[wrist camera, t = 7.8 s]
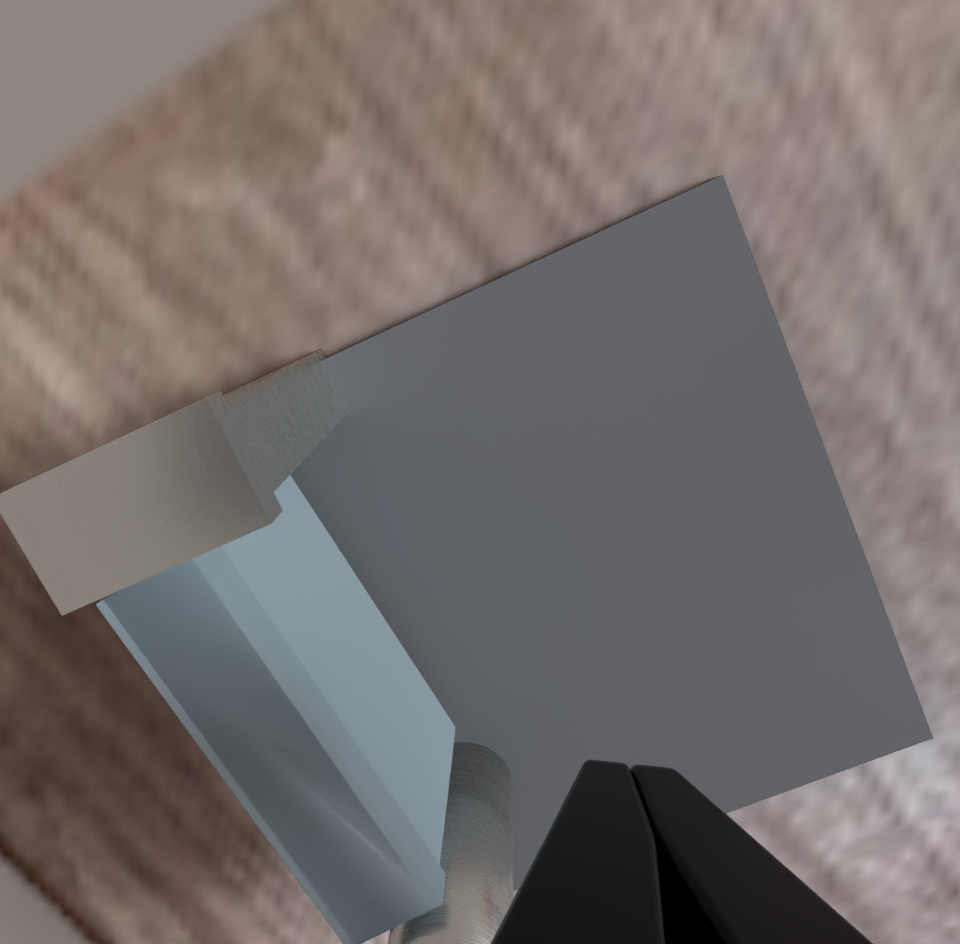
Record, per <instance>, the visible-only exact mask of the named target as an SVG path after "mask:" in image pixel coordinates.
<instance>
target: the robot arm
mask: <svg viewBox="0 0 960 944" xmlns="http://www.w3.org/2000/svg"><path fill="white" fill-rule="evenodd" d="M490 944H873V943H872V942H870V941H869V940H868V939H867V938H866V937H865V936H864V935H863V934H861V933H860V932H859V931H858V930H857V929H856V928H855V927H853V926H852V925H851V924H850V923H849V922H848V921H847V920H846V919H844V918H843V917H842V916H841V915H840V914H839V913H838V912H836V911H835V910H834V909H833V908H832V907H831V906H830V905H829V904H827V903H826V902H825V901H824V900H823V899H822V898H821V897H819V896H818V895H817V894H816V893H815V892H814V891H813V890H811V889H810V888H809V887H808V886H807V885H806V884H805V883H804V882H802V881H801V880H800V879H799V878H798V877H797V876H796V875H794V874H793V873H792V872H791V871H790V870H789V869H788V868H787V867H785V866H784V865H783V864H782V863H781V862H780V861H779V860H777V859H776V858H775V857H774V856H773V855H772V854H771V853H770V852H768V851H767V850H766V849H765V848H764V847H763V846H762V845H760V844H759V843H758V842H757V841H756V840H755V839H754V838H753V837H751V836H750V835H749V834H748V833H747V832H746V831H745V830H743V829H742V828H741V827H740V826H739V825H738V824H737V823H735V822H734V821H733V820H732V819H731V818H730V817H729V816H728V815H726V814H725V813H724V812H723V811H722V810H721V809H720V808H718V807H717V806H716V805H715V804H714V803H713V802H712V801H711V800H709V799H708V798H707V797H706V796H705V795H704V794H703V793H701V792H700V791H699V790H698V789H697V788H696V787H695V786H694V785H692V784H691V783H690V782H689V781H688V780H687V779H686V778H684V777H683V776H682V775H681V774H680V773H679V772H677V771H676V770H675V769H672V768H669V767H659V766H649V765H634V766H632V767H631V769H630V768H629V767H628V766H627V765H626V764H624V763H620V762H611V761H601V760H587V761H585V762H584V764H583V765H582V767H581V769H580V771H579V773H578V775H577V777H576V779H575V781H574V782H573V784H572V786H571V788H570V790H569V792H568V794H567V796H566V798H565V800H564V802H563V804H562V806H561V808H560V810H559V812H558V814H557V815H556V817H555V819H554V821H553V823H552V825H551V827H550V829H549V831H548V833H547V835H546V837H545V839H544V841H543V843H542V845H541V846H540V848H539V850H538V852H537V854H536V856H535V858H534V860H533V862H532V864H531V866H530V868H529V870H528V872H527V874H526V876H525V878H524V879H523V881H522V883H521V885H520V887H519V889H518V891H517V893H516V895H515V897H514V899H513V901H512V903H511V905H510V907H509V909H508V910H507V912H506V914H505V916H504V918H503V920H502V922H501V924H500V926H499V928H498V930H497V932H496V934H495V936H494V938H493V940H492V942H491V943H490Z"/></svg>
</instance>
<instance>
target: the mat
mask: <svg viewBox="0 0 960 944" xmlns="http://www.w3.org/2000/svg"><path fill="white" fill-rule="evenodd" d="M322 363H323V365H324V367H325V369H326V371H327V373H328V375H329V377H330V379H331V381H332V383H333V385H334V387H335V389H336V391H337V393H338V395H339V397H340V399H341V401H342V403H343V406H344V408H345V410H346V412H347V415H346V416H345V417H344V418H343V419H342V420H341V422H340V423H339V424H338V425H337V426H336V427H335V428H334V429H333V430H332V431H331V432H330V433H329V434H328V435H327V436H326V437H325V438H324V439H323V441H322V442H321V443H320V444H319V445H318V446H317V447H316V448H315V449H314V450H313V451H312V452H311V453H310V454H309V455H308V456H307V457H306V459H305V460H304V461H303V462H302V463H301V464H300V465H299V466H298V467H297V468H296V469H295V470H294V471H293V472H292V473H291V474H290V475H291V477H292V478H293V480H294V481H295V483H296V484H297V486H298V487H299V489H300V491H301V492H302V494H303V495H304V497H305V498H306V500H307V501H308V503H309V504H310V506H311V507H312V509H313V510H314V512H315V513H316V515H317V516H318V518H319V520H320V521H321V523H322V524H323V526H324V527H325V529H326V530H327V532H328V533H329V535H330V536H331V538H332V539H333V541H334V542H335V544H336V545H337V547H338V549H339V550H340V552H341V553H342V555H343V556H344V558H345V559H346V561H347V562H348V564H349V565H350V567H351V568H352V570H353V571H354V573H355V574H356V576H357V578H358V579H359V581H360V582H361V584H362V585H363V587H364V588H365V590H366V591H367V593H368V594H369V596H370V597H371V599H372V600H373V602H374V603H375V605H376V607H377V608H378V610H379V611H380V613H381V614H382V616H383V617H384V619H385V620H386V622H387V623H388V625H389V626H390V628H391V629H392V631H393V632H394V634H395V636H396V637H397V639H398V640H399V642H400V643H401V645H402V646H403V648H404V649H405V651H406V652H407V654H408V655H409V657H410V658H411V660H412V662H413V663H414V665H415V666H416V668H417V669H418V671H419V672H420V674H421V675H422V677H423V678H424V680H425V681H426V683H427V684H428V686H429V687H430V689H431V691H432V692H433V694H434V695H435V697H436V698H437V700H438V701H439V703H440V704H441V706H442V707H443V709H444V710H445V712H446V713H447V715H448V716H449V718H450V720H451V721H452V723H453V724H454V726H455V727H456V728H455V737H454V743H458V742H470V743H476V744H479V745H482V746H485V747H487V748H489V749H491V750H492V751H494V752H495V753H496V754H498V755H499V756H500V757H501V758H502V759H503V760H504V762H505V763H506V765H507V766H508V768H509V770H510V773H511V776H512V780H513V890H516V889H519V887H520V885H521V883H522V881H523V879H524V878H525V876H526V874H527V872H528V870H529V868H530V866H531V864H532V862H533V860H534V858H535V856H536V854H537V852H538V850H539V848H540V846H541V845H542V843H543V841H544V839H545V837H546V835H547V833H548V831H549V829H550V827H551V825H552V823H553V821H554V819H555V817H556V815H557V814H558V812H559V810H560V808H561V806H562V804H563V802H564V800H565V798H566V796H567V794H568V792H569V790H570V788H571V786H572V784H573V782H574V781H575V779H576V777H577V775H578V773H579V771H580V769H581V767H582V765H583V764H584V762H585V761H587V760H601V761H611V762H620V763H624V764H626V765H627V766H628V767H629V768H630V769H631V767H632V766H634V765H649V766H659V767H669V768H672V769H675V770H676V771H677V772H679V773H680V774H681V775H682V776H683V777H684V778H686V779H687V780H688V781H689V782H690V783H691V784H692V785H694V786H695V787H696V788H697V789H698V790H699V791H700V792H701V793H703V794H704V795H705V796H706V797H707V798H708V799H709V800H711V801H712V802H713V803H714V804H715V805H716V806H717V807H718V808H720V809H721V810H722V811H723V812H724V813H728V812H731V811H734V810H736V809H739V808H742V807H745V806H747V805H750V804H753V803H756V802H758V801H761V800H764V799H767V798H769V797H772V796H775V795H778V794H780V793H783V792H786V791H789V790H791V789H794V788H797V787H800V786H802V785H805V784H808V783H811V782H813V781H816V780H819V779H822V778H824V777H827V776H830V775H833V774H836V773H838V772H841V771H844V770H847V769H849V768H852V767H855V766H858V765H860V764H863V763H866V762H869V761H871V760H874V759H877V758H880V757H882V756H885V755H888V754H891V753H893V752H896V751H899V750H902V749H904V748H907V747H910V746H913V745H915V744H918V743H921V742H924V741H926V740H929V739H932V738H933V737H932V734H931V731H930V729H929V726H928V723H927V721H926V718H925V715H924V713H923V710H922V707H921V705H920V702H919V699H918V697H917V694H916V691H915V688H914V686H913V683H912V680H911V678H910V675H909V672H908V670H907V667H906V664H905V662H904V659H903V656H902V654H901V651H900V648H899V646H898V643H897V640H896V638H895V635H894V632H893V630H892V627H891V624H890V622H889V619H888V616H887V614H886V611H885V608H884V605H883V603H882V600H881V597H880V595H879V592H878V589H877V587H876V584H875V581H874V579H873V576H872V573H871V571H870V568H869V565H868V563H867V560H866V557H865V555H864V552H863V549H862V547H861V544H860V541H859V539H858V536H857V533H856V531H855V528H854V525H853V523H852V520H851V517H850V514H849V512H848V509H847V506H846V504H845V501H844V498H843V496H842V493H841V490H840V488H839V485H838V482H837V480H836V477H835V474H834V472H833V469H832V466H831V464H830V461H829V458H828V456H827V453H826V450H825V448H824V445H823V442H822V440H821V437H820V434H819V431H818V429H817V426H816V423H815V421H814V418H813V415H812V413H811V410H810V407H809V405H808V402H807V399H806V397H805V394H804V391H803V389H802V386H801V383H800V381H799V378H798V375H797V373H796V370H795V367H794V365H793V362H792V359H791V357H790V354H789V351H788V348H787V346H786V343H785V340H784V338H783V335H782V332H781V330H780V327H779V324H778V322H777V319H776V316H775V314H774V311H773V308H772V306H771V303H770V300H769V298H768V295H767V292H766V290H765V287H764V284H763V282H762V279H761V276H760V274H759V271H758V268H757V265H756V263H755V260H754V257H753V255H752V252H751V249H750V247H749V244H748V241H747V239H746V236H745V233H744V231H743V228H742V225H741V223H740V220H739V217H738V215H737V212H736V209H735V207H734V204H733V201H732V199H731V196H730V193H729V191H728V188H727V185H726V182H725V180H724V177H723V175H721V176H718V177H715V178H713V179H711V180H709V181H707V182H705V183H703V184H700V185H698V186H696V187H694V188H692V189H690V190H687V191H685V192H683V193H681V194H679V195H677V196H674V197H672V198H670V199H668V200H666V201H664V202H661V203H659V204H657V205H655V206H653V207H651V208H648V209H646V210H644V211H642V212H640V213H638V214H636V215H633V216H631V217H629V218H627V219H625V220H623V221H620V222H618V223H616V224H614V225H612V226H610V227H607V228H605V229H603V230H601V231H599V232H597V233H594V234H592V235H590V236H588V237H586V238H584V239H581V240H579V241H577V242H575V243H573V244H571V245H569V246H566V247H564V248H562V249H560V250H558V251H556V252H553V253H551V254H549V255H547V256H545V257H543V258H540V259H538V260H536V261H534V262H532V263H530V264H527V265H525V266H523V267H521V268H519V269H517V270H514V271H512V272H510V273H508V274H506V275H504V276H502V277H499V278H497V279H495V280H493V281H491V282H489V283H486V284H484V285H482V286H480V287H478V288H476V289H473V290H471V291H469V292H467V293H465V294H463V295H460V296H458V297H456V298H454V299H452V300H450V301H447V302H445V303H443V304H441V305H439V306H437V307H435V308H432V309H430V310H428V311H426V312H424V313H422V314H419V315H417V316H415V317H413V318H411V319H409V320H406V321H404V322H402V323H400V324H398V325H396V326H393V327H391V328H389V329H387V330H385V331H383V332H380V333H378V334H376V335H374V336H372V337H370V338H368V339H365V340H363V341H361V342H359V343H357V344H355V345H352V346H350V347H348V348H346V349H344V350H342V351H339V352H337V353H335V354H333V355H331V356H329V357H326V358H325V359H323V360H322Z"/></svg>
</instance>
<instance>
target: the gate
mask: <svg viewBox="0 0 960 944" xmlns="http://www.w3.org/2000/svg"><path fill="white" fill-rule="evenodd" d="M274 494H275V496H276V498H277V500H278V502H279V503H280V505H281V507H282V509H283V511H282V512H281V513H280V515H279V516H278V517H277V518H276V519H275V520H274V522H273V523H272V524H270V525H268V526H265V527H263V528H261V529H259V530H256V531H254V532H252V533H249V534H247V535H245V536H243V537H240V538H238V539H236V540H233V541H231V542H229V543H227V544H224V545H222V546H220V547H218V548H215V549H213V550H211V551H208V552H206V553H204V554H202V555H199V556H197V557H195V558H192V559H190V560H188V561H186V562H183V563H181V564H179V565H177V566H174V567H172V568H170V569H167V570H165V571H163V572H161V573H158V574H156V575H154V576H151V577H149V578H147V579H145V580H142V581H140V582H138V583H136V584H133V585H131V586H129V587H126V588H124V589H122V590H120V591H117V592H115V593H113V594H110V595H108V596H106V597H104V598H102V599H101V600H100V601H99V602H98V603H97V604H96V606H97V607H98V609H99V610H100V611H101V613H102V614H103V615H104V617H105V618H106V620H107V621H108V622H109V624H110V625H111V626H112V628H113V629H114V631H115V632H116V633H117V635H118V636H119V637H120V639H121V640H122V641H123V643H124V644H125V646H126V647H127V648H128V650H129V651H130V652H131V654H132V655H133V657H134V658H135V659H136V661H137V662H138V663H139V665H140V666H141V667H142V669H143V670H144V672H145V673H146V674H147V676H148V677H149V678H150V680H151V681H152V683H153V684H154V685H155V687H156V688H157V689H158V691H159V692H160V693H161V695H162V696H163V698H164V699H165V700H166V702H167V703H168V704H169V706H170V707H171V709H172V710H173V711H174V713H175V714H176V715H177V717H178V718H179V719H180V721H181V722H182V724H183V725H184V726H185V728H186V729H187V730H188V732H189V733H190V735H191V736H192V737H193V739H194V740H195V741H196V743H197V744H198V745H199V747H200V748H201V750H202V751H203V752H204V754H205V755H206V756H207V758H208V759H209V761H210V762H211V763H212V765H213V766H214V767H215V769H216V770H217V771H218V773H219V774H220V776H221V777H222V778H223V780H224V781H225V782H226V784H227V785H228V787H229V788H230V789H231V791H232V792H233V793H234V795H235V796H236V797H237V799H238V800H239V802H240V803H241V804H242V806H243V807H244V808H245V810H246V811H247V813H248V814H249V815H250V817H251V818H252V819H253V821H254V822H255V824H256V825H257V826H258V828H259V829H260V830H261V832H262V833H263V834H264V836H265V837H266V839H267V840H268V841H269V843H270V844H271V845H272V847H273V848H274V850H275V851H276V852H277V854H278V855H279V856H280V858H281V859H282V860H283V862H284V863H285V865H286V866H287V867H288V869H289V870H290V871H291V873H292V874H293V876H294V877H295V878H296V880H297V881H298V882H299V884H300V885H301V886H302V888H303V889H304V891H305V892H306V893H307V895H308V896H309V897H310V899H311V900H312V902H313V903H314V904H315V906H316V907H317V908H318V910H319V911H320V912H321V914H322V915H323V917H324V918H325V919H326V921H327V922H328V923H329V925H330V926H331V928H332V929H333V930H334V932H335V933H336V934H337V936H338V937H339V938H340V940H341V941H342V943H343V944H361V943H363V942H365V941H367V940H369V939H371V938H373V937H376V936H378V935H380V934H382V933H384V932H386V931H388V930H390V929H392V928H394V927H396V926H398V925H401V924H403V923H405V922H407V921H409V920H411V919H413V918H415V917H417V916H419V915H421V914H423V913H426V912H428V911H430V910H432V909H434V908H436V907H438V906H440V905H442V904H443V898H444V888H445V879H446V873H445V872H444V871H443V869H442V868H441V866H440V859H441V850H442V841H443V833H444V824H445V815H446V807H447V798H448V789H449V780H450V772H451V763H452V754H453V746H454V737H455V728H456V727H455V726H454V724H453V723H452V721H451V720H450V718H449V716H448V715H447V713H446V712H445V710H444V709H443V707H442V706H441V704H440V703H439V701H438V700H437V698H436V697H435V695H434V694H433V692H432V691H431V689H430V687H429V686H428V684H427V683H426V681H425V680H424V678H423V677H422V675H421V674H420V672H419V671H418V669H417V668H416V666H415V665H414V663H413V662H412V660H411V658H410V657H409V655H408V654H407V652H406V651H405V649H404V648H403V646H402V645H401V643H400V642H399V640H398V639H397V637H396V636H395V634H394V632H393V631H392V629H391V628H390V626H389V625H388V623H387V622H386V620H385V619H384V617H383V616H382V614H381V613H380V611H379V610H378V608H377V607H376V605H375V603H374V602H373V600H372V599H371V597H370V596H369V594H368V593H367V591H366V590H365V588H364V587H363V585H362V584H361V582H360V581H359V579H358V578H357V576H356V574H355V573H354V571H353V570H352V568H351V567H350V565H349V564H348V562H347V561H346V559H345V558H344V556H343V555H342V553H341V552H340V550H339V549H338V547H337V545H336V544H335V542H334V541H333V539H332V538H331V536H330V535H329V533H328V532H327V530H326V529H325V527H324V526H323V524H322V523H321V521H320V520H319V518H318V516H317V515H316V513H315V512H314V510H313V509H312V507H311V506H310V504H309V503H308V501H307V500H306V498H305V497H304V495H303V494H302V492H301V491H300V489H299V487H298V486H297V484H296V483H295V481H294V480H293V478H292V477H291V475H289V476H288V478H287V479H286V480H285V481H284V482H283V483H282V484H281V485H280V486H279V487H278V488H277V489H276V490H275V491H274Z"/></svg>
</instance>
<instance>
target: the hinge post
mask: <svg viewBox="0 0 960 944" xmlns="http://www.w3.org/2000/svg"><path fill="white" fill-rule="evenodd" d="M440 866H441V868H442V869H443V871H444V872H445V873H446V879H445V888H444V898H443V904H442V905H440V906H438V907H436V908H434V909H432V910H430V911H428V912H426V913H423V914H421V915H419V916H417V917H415V918H413V919H411V920H409V921H407V922H405V923H403V924H401V925H398V926H396V927H394V928H392V929H390V935H389V941H388V944H490V943H491V942H492V940H493V938H494V936H495V934H496V932H497V930H498V928H499V926H500V924H501V922H502V920H503V918H504V916H505V914H506V912H507V910H508V909H509V907H510V905H511V903H512V901H513V780H512V776H511V773H510V770H509V768H508V766H507V765H506V763H505V762H504V760H503V759H502V758H501V757H500V756H499V755H498V754H496V753H495V752H494V751H492V750H491V749H489V748H487V747H485V746H482V745H479V744H476V743H470V742H458V743H454V746H453V754H452V763H451V772H450V780H449V789H448V798H447V807H446V815H445V824H444V833H443V841H442V850H441V859H440Z"/></svg>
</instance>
